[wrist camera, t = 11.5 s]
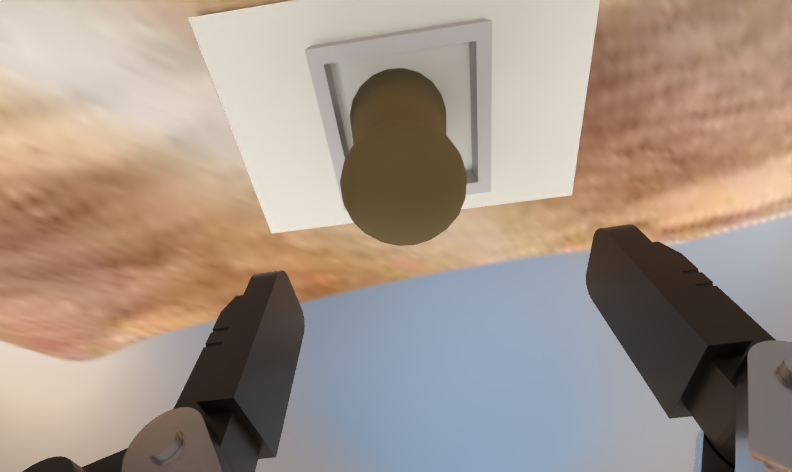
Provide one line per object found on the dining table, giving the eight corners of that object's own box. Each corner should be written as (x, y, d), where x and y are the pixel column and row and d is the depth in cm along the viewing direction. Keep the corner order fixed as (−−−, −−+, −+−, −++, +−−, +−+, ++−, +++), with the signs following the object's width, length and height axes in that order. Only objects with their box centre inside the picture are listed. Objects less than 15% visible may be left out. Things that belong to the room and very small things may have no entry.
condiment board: (197, 16, 21) (169, 20, 18) (595, -50, 19) (629, -56, 17) (275, 225, 28) (264, 249, 26) (564, 187, 27) (584, 209, 24)
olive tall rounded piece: (464, 94, 22) (518, 165, 13) (420, 178, 25) (439, 285, 16) (371, 49, 21) (357, 94, 12) (336, 144, 24) (304, 240, 15)
